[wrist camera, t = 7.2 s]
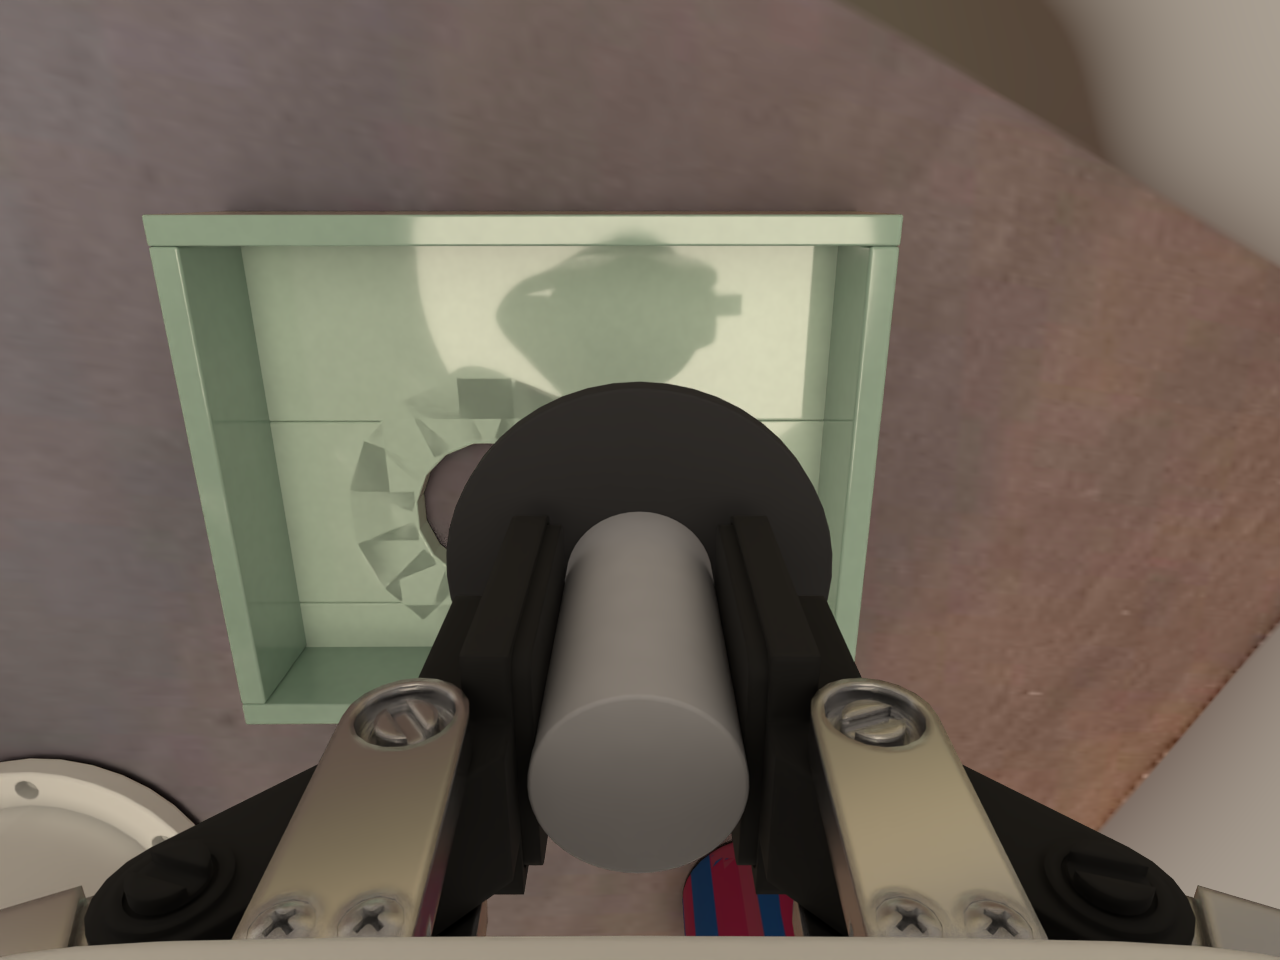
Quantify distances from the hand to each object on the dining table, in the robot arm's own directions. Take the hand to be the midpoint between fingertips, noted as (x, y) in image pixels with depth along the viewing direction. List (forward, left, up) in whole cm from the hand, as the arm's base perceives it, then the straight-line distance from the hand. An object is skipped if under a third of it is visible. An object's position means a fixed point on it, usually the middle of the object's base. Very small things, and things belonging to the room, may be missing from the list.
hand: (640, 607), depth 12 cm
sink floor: (-3, +3, -16) cm, 16 cm away
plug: (0, 0, -2) cm, 2 cm away
